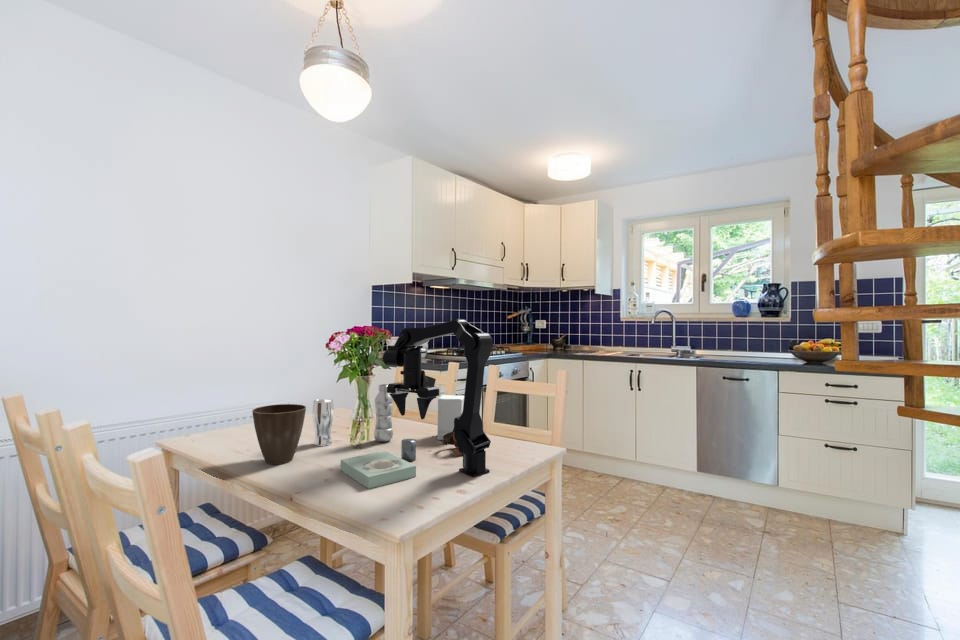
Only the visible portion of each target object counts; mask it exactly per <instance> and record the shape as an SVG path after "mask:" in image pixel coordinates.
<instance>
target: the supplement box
mask: <svg viewBox="0 0 960 640" xmlns="http://www.w3.org/2000/svg"><path fill="white" fill-rule="evenodd" d="M463 404H464V395H460V394H459V395H458V394H457V395H453V394H452V395H451V394H442V395H441V396H439V397H438V399H437V440H438V441H439V440H441V441H443V440H444V439H443V436H444V435H445V434H447V433H450V432H452V431H453V429H454V419H455V418H456V417H459V416H461V414H462V412H463Z"/></svg>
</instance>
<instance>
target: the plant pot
mask: <svg viewBox="0 0 960 640" xmlns="http://www.w3.org/2000/svg"><path fill="white" fill-rule="evenodd" d="M306 410H307V406H305V405H303V404H298V403H297V404H294V403H293V404H291V403H287V404H286V403H283V404H282V403H280V404H271V405H270V404H269V405H264V406H259V407H255V408H254V409H253V408H252V412H251V413H252V419H253V425H254V430H255V433H256V439H257V443H258V444H259V448H260V452H261V453H262V456H263V460H264V461H265V464H268V465H282V464H287V463H289V462H291V461H292V460H293V459H294V458H295V457H294V456H295V455H296V454H295V453H296V451H297V448H298V445H299V442H300V439H301V436H302V431H303V427H304V423H305V417H306V416H305V415H306Z"/></svg>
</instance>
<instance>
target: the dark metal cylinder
mask: <svg viewBox="0 0 960 640" xmlns="http://www.w3.org/2000/svg"><path fill="white" fill-rule="evenodd" d="M400 448H401V455H400V458H401V459H403V460H405V461H407V462H409V463H413V462H416V461H417V460H416V459H417V456H416V455H417V439H414V438H403V439H402V440H401V447H400Z"/></svg>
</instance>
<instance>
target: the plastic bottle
mask: <svg viewBox="0 0 960 640" xmlns="http://www.w3.org/2000/svg"><path fill="white" fill-rule="evenodd" d="M388 385H389V383H388V384H385V383H383V384H378V391H379V392H378V393H377V394H376V396H375V397H374V407H375V424H374V425H375V427H374V430H373V437H374V440H375V441H376V442H379V443H383V442H390V441H391V440H392V439H393V436H394V430H393V420H392V417H393V415H392V414H393V407H394V406H393V405H394V400H393V398H392V397H391V396H390V394H391V393H387V386H388Z"/></svg>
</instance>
